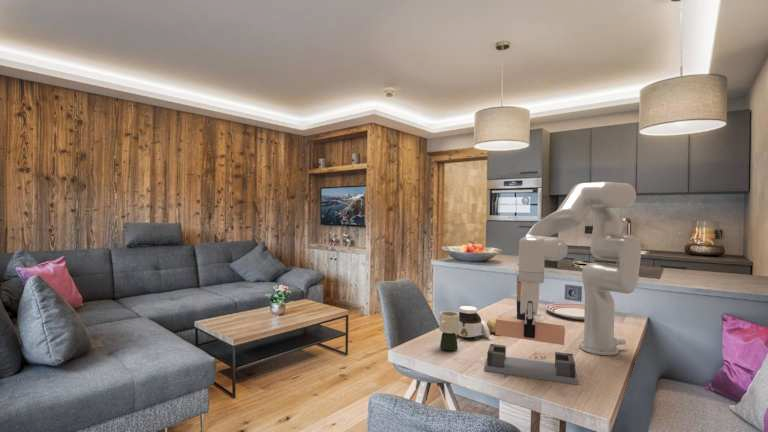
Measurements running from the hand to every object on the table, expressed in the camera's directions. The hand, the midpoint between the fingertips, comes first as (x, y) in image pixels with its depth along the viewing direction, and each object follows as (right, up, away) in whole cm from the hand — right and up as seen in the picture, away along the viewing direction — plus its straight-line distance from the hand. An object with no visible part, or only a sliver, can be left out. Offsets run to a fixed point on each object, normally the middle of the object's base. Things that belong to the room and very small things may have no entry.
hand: (529, 334), depth 124 cm
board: (0, -11, 0) cm, 11 cm away
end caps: (0, -10, 0) cm, 10 cm away
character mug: (-22, -11, +19) cm, 31 cm away
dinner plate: (+48, -11, +68) cm, 84 cm away
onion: (+1, -11, +39) cm, 41 cm away
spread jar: (-10, -11, +33) cm, 36 cm away
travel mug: (+20, -11, +59) cm, 64 cm away
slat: (0, -1, 0) cm, 1 cm away
